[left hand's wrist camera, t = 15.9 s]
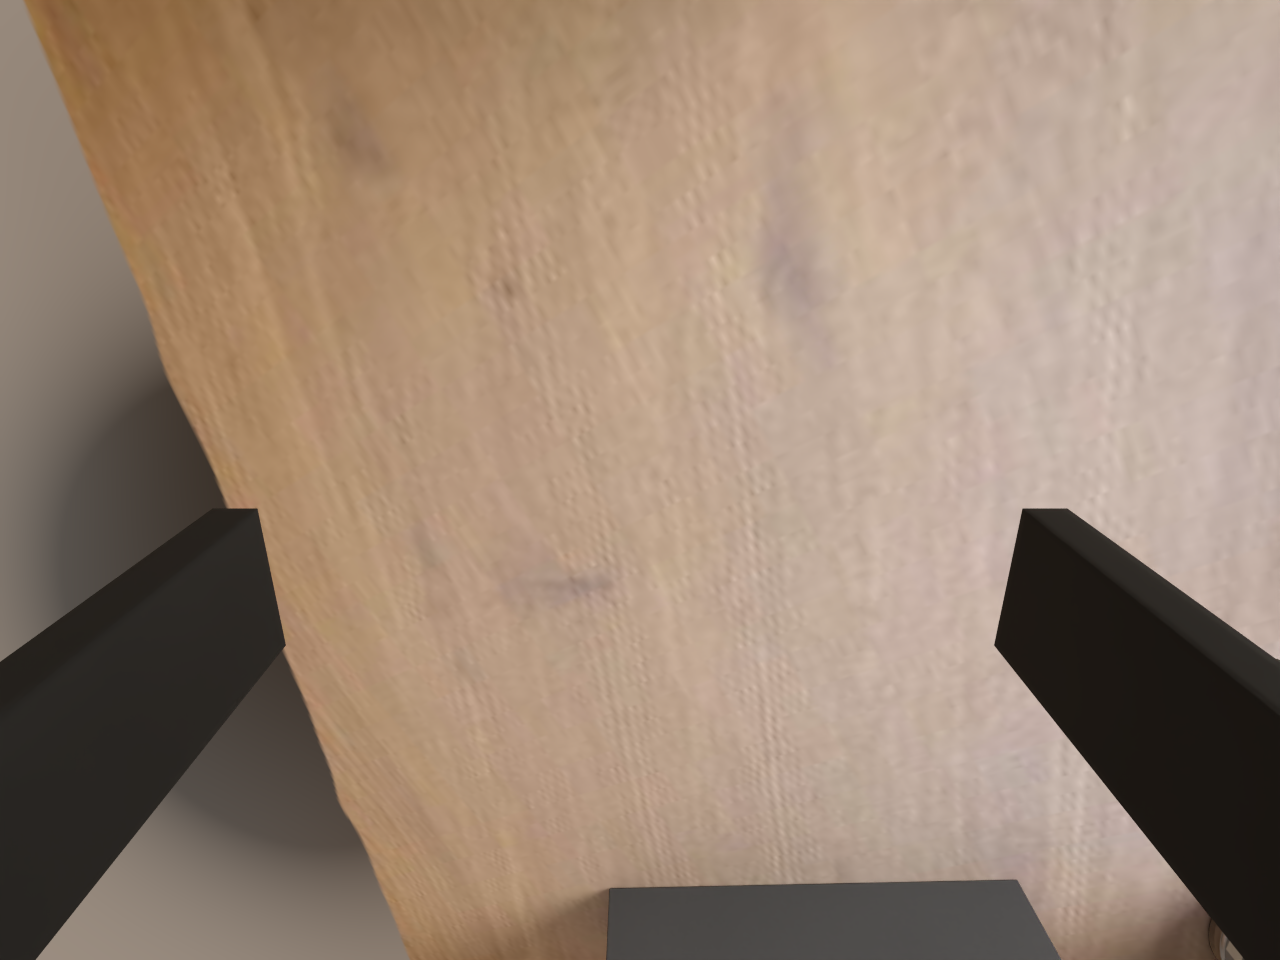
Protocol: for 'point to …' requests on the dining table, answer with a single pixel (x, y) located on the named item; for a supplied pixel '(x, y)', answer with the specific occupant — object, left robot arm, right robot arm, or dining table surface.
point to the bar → (828, 922)
